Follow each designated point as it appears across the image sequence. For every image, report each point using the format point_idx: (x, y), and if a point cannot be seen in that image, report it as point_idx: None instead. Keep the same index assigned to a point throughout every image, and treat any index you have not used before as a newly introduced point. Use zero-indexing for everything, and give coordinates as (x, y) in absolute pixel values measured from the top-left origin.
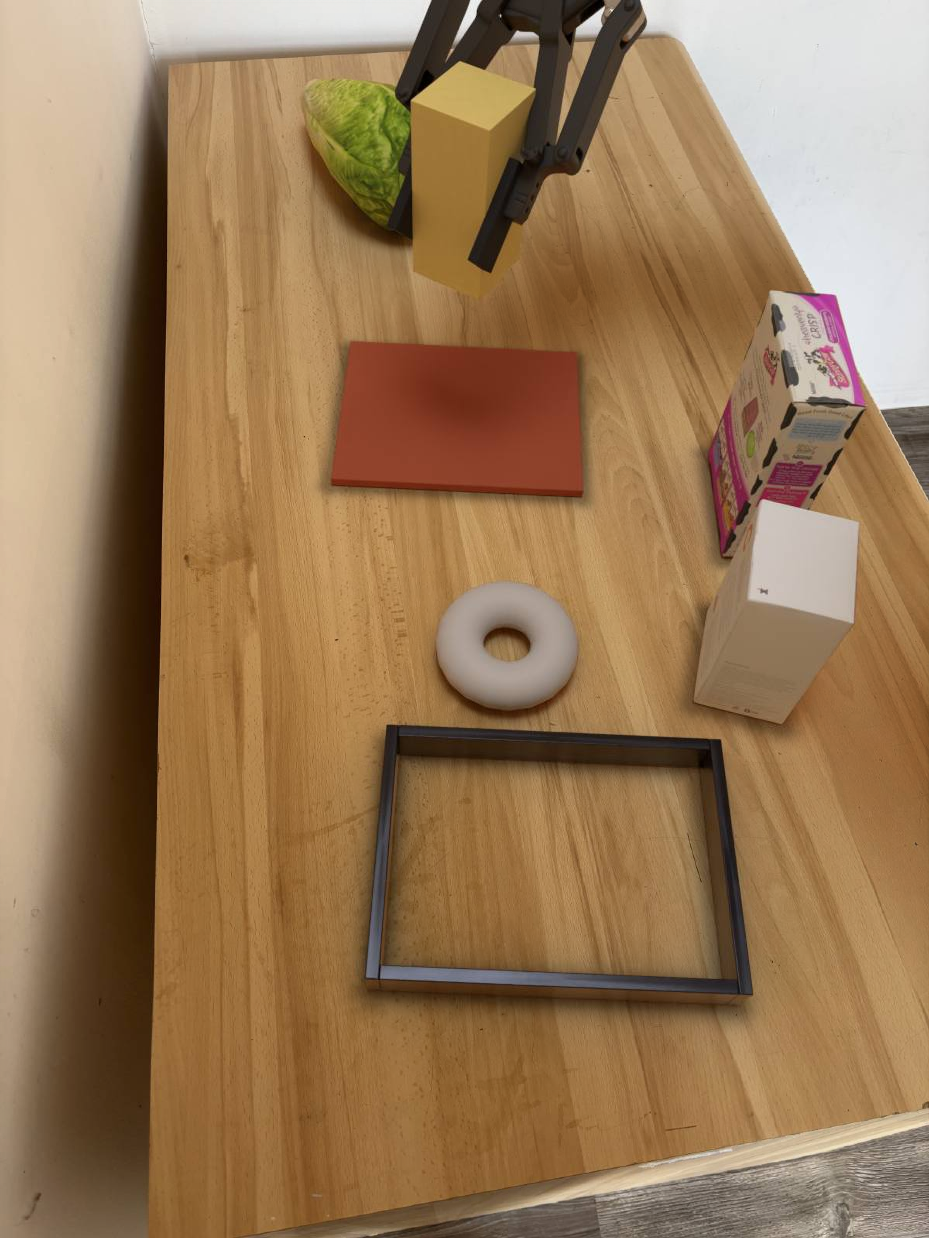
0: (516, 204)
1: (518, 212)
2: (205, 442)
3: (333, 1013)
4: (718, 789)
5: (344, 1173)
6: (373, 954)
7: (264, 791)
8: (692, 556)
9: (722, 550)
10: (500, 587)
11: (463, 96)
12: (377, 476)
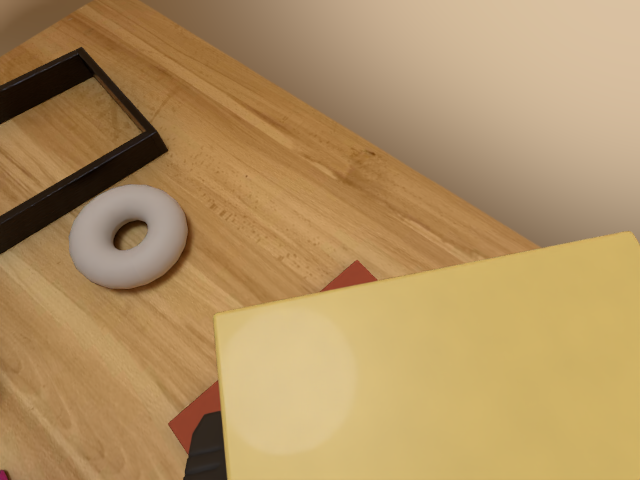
0: (212, 440)
1: (200, 429)
2: (461, 223)
3: (105, 56)
4: None
5: (63, 27)
6: (83, 54)
7: (208, 95)
8: (36, 446)
9: (2, 474)
10: (150, 252)
11: (543, 460)
12: (330, 288)
